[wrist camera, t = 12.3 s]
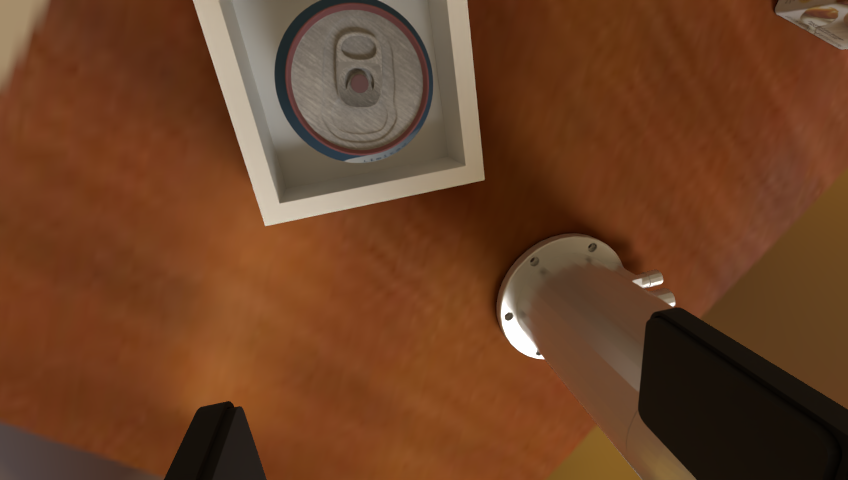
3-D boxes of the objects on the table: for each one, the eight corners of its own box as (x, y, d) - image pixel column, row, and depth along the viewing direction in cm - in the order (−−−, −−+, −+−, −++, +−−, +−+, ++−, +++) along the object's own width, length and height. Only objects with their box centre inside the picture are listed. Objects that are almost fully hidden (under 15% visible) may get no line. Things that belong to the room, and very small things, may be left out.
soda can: (397, 140, 29) (439, 170, 18) (297, 139, 28) (276, 170, 17) (399, 33, 27) (448, -8, 16) (289, 25, 25) (258, -26, 14)
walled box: (436, -50, 26) (459, -80, 22) (462, 167, 32) (484, 180, 27) (205, -23, 24) (177, -50, 20) (275, 205, 29) (265, 226, 25)
